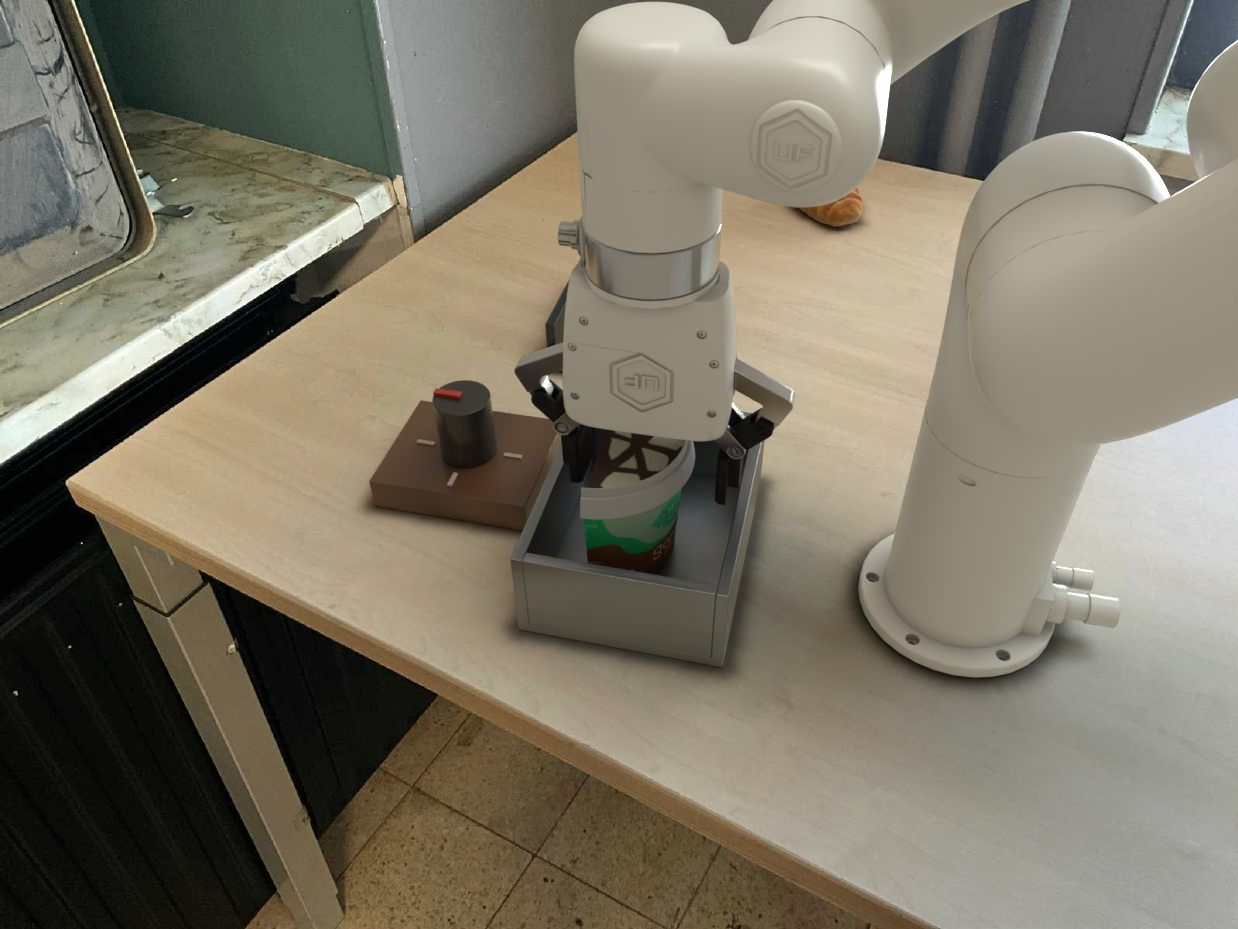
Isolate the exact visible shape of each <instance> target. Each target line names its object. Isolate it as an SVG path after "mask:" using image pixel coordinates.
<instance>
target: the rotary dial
mask: <svg viewBox="0 0 1238 929" xmlns="http://www.w3.org/2000/svg"><path fill="white" fill-rule="evenodd" d="M492 411H493V419H494V427H495V435H496V443H497V450H496V453H495V454H494V456H493V457H492V458H491V459H490V460H489V461H487V462H486V463H484V464H482V465H479V466H475V467H468V468H463V467H456V466H453V465H451V464H449V463H447V462H446V461H445V460H444V459H443V457H442V454H441V449H440V443H439V437H438V431H437V426H436V420H435V414H434V408H433V402H432V401H429V400H423V399H421V400H419V402H418V404H417V405H416V407H415V408H414V410H413V411H412V413H411V414H410V416H409V417H408V420H407V421H406V423H405V424H404V426H403V427H402V429H401V430H400V432H399V434H398V435H397V437H396V438H395V440H394V441H393V443H392V445H391V446H390V447H389V449H388V451H387V453H386V454H385V456H384V457H383V458H382V461H381V462H380V464H379V465H378V467H377V468H376V469H375V471H374V473H373V475H372V476H371V478H369V481H368V483H369V487H370V492H371V495H372V499H373V503H374V506H375V507H381V508H386V509H392V510H399V511H404V512H411V513H416V514H422V515H428V516H433V517H440V518H446V519H452V520H457V521H463V522H470V523H477V524H482V525H487V526H493V527H494V526H495V527H499V528H506V529H510V530H511V529H512V530H517V531H523V529H524V526H525V524H526V522H527V520H528V517H529V515H530V513H531V511H532V508H533V506H534V504H535V502H536V499H537V497H538V495H539V492H540V490H541V488H542V486H543V483H544V481H545V479H546V477H547V474H548V472H549V470H550V468H551V465H552V463H553V461H554V458H555V456H556V454H557V452H558V449H559V447H560V445H561V435H560V434H558V433H556V432H555V431H554V429H553V424H554V423H553V422H552V421H551V420H550V419H549V418H548V417H546V418H545V417H541V416H540V417H539V416H532V415H525V414H519V413H511V412H504V411H499V410H492Z"/></svg>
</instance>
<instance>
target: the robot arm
mask: <svg viewBox="0 0 1238 929" xmlns="http://www.w3.org/2000/svg"><path fill="white" fill-rule="evenodd" d="M1028 1H1030V0H772V1H771V2H770V3H769V4H768V5H767V7H766V8H765V9H764V11H763V12H762V13H761V15H760V16H759V18H758V19H757V21H756V22H755V25H754V27H753V28H752V30H751V33H750V34H749V37H748V39H747V40H745V41H742V42H740V43H735V44H732V43H731V42H730V41H729V38H728V36H727V33H726V31H725V29H724V27H723V26H722V24H721V23H720V21H719V20H717V19H716V18H715V17H714V16H713V15H712V14H711V13H709V12H707V11H706V10H703V9H700V8H697V7H694V6H691V5H687V4H683V3H677V2H676V3H675V2H667V1H640V2H630V3H624V4H621V5H617V6H613V7H610V8H606V9H604V10H602V11H599V12H598V13H596V14H594V15H593V16H592V17H591V18H589V19H588V20H586V22H584V24H583V25H582V26H581V28H580V30H579V32H578V35H577V37H576V40H575V44H574V49H573V72H574V73H573V74H574V91H575V93H574V94H575V112H576V113H575V114H576V129H577V130H576V131H577V133H576V134H577V148H578V149H577V150H578V152H577V153H578V168H579V169H578V170H579V185H580V186H579V187H580V200H581V217H580V219H574V220H573V221H563V220H562V221H560V223H559V224H558V230H557V242H558V245H559V246H562V247H570V248H571V250H577V254H578V256H580V257H579V260H580V259H581V260H580V261H579V260H578V262H577V264H576V265H575V266H574V267H573V269H572V270H571V272H570V275H569V279H570V280H569V279H568V281H569V285H568V291H567V299H566V308H565V321H564V340H563V342H562V343H559V344H556V345H553V346H550V347H547V346H546V347H545V348H542V349H538V350H535V351H533V352H530V353H527V354H524V355H522V356H521V357H520V359H519V360H518V362H517V364H516V366H515V368H514V371H513V372H514V374H515V376H516V378H517V380H518V381H519V382H520V384H521V385H522V387H523V388H524V390H525V391H526V393H529V395H530V396H531V397H530V401H531V404H532V405H533V406H534V407H535V408H536V409H537V410H538V411H540V412H541V414H543V415H544V416H546V418H547V419H550V420H551V421H552V422H553V423H554V424H553V429H554V431H555V432H556V433H558V434H560V435H561V443H562V455H563V462H564V463H568V464H569V466H570V479H571V482H572V483H580V482H582V481H583V479H584V476H585V474H586V471H587V469H588V466H589V464H590V461H591V459H592V455H593V448H592V429H591V427H594V428H600V429H607V430H614V431H621V432H628V433H636V434H643V435H650V436H657V437H665V438H672V439H680V440H688V441H701V442H703V441H712V440H714V441H715V442H716V443H717V445H718V446H719V447H720V450H719V454H718V458H717V467H716V485H715V502H717V504H719V505H726V501H727V497H728V492H729V488H730V487H733V488H739V486H740V482H741V476H742V468H743V457H744V456H745V452H746V451H747V450H749V449H750V448H752V447H754V446H755V445H757V444H759V443H761V442H762V441H764V440H765V441H766V440H768V439H769V438H770V437H771V436H772V435H773V434H774V430H775V429H776V428H777V427H779V426H780V425H781V424H782V423H783V421H784V420H785V419H786V418H787V417H788V415H789V414H790V413H791V412H792V411H793V409H794V403H795V397H796V393H795V390H793V389H792V388H790V387H788V386H787V385H784V384H783V383H781V382H780V381H778V380H776V379H774V378H773V377H770V376H769V375H767V374H766V373H763V372H762V371H760V370H758V369H757V368H754V367H753V366H751V365H749V364H748V363H746V362H744V361H742V360H740V359H739V358H738V332H737V331H738V329H737V313H736V304H735V303H736V302H735V294H734V288H733V283H732V276H731V272H730V270H729V267H728V266H727V264H726V263H725V262H723V261H721V258H720V257H721V240H722V219H723V218H722V214H723V196H724V191H727V192H730V193H733V194H737V195H739V196H743V197H745V198H750V199H752V200H756V201H760V202H764V203H768V204H771V205H772V204H773V205H777V206H780V207H788V208H789V207H790V208H798V207H814V206H821V205H825V204H829V203H832V202H835V201H837V200H839V199H841V198H843V197H845V196H846V195H848V194H849V193H851V192H852V191H854V190H855V189H856V188H858V187H859V186H860V185H861V184H862V183H864V181H865V180H866V179H867V178H868V176H869V174H871V172H872V171H873V169H874V167H875V165H876V163H877V161H878V158H879V155H880V153H881V149H882V148H883V147H882V146H883V143H884V138H885V132H886V124H887V114H888V105H889V97H890V89H891V85H893V84H894V83H895V82H896V81H898V80H900V79H901V78H902V77H903V76H905V75H906V74H908V73H909V72H910V71H912V70H913V69H914V68H915V67H917V66H919V65H920V64H921V63H922V62H924V61H925V60H926V59H928V58H929V57H931V56H932V55H934V54H935V53H937V52H938V51H940V50H941V49H942V48H944V47H946V46H947V45H949V44H950V43H951V42H953V41H954V40H956V39H957V38H959V37H961V35H963V34H965V33H967V32H968V31H970V30H971V29H973V28H975V27H976V26H978V25H979V24H981V23H983V22H985V21H987V20H989V19H990V18H993V17H994V16H996V15H998V14H1000V13H1003V12H1005V11H1007V10H1009V9H1011V8H1014V7H1016V6H1017V5H1020V4H1023V3H1026V2H1028ZM1189 98H1190V99H1189V101H1188V106H1187V111H1186V116H1185V117H1186V118H1185V132H1186V133H1185V134H1186V140H1187V145H1188V146H1187V147H1188V151H1189V155H1190V158H1191V162H1192V164H1193V166H1194V169H1195V173H1196V175H1197V177H1198V179H1199V180H1196V182H1193V183H1192V184H1190V185H1188V186H1187V187H1184V188H1183V189H1181V190H1179V191H1177V192H1176V193H1174V194H1172V195H1170V193H1169V191H1168V189H1167V186H1166V184H1165V182H1164V181H1163V179H1162V178H1161V176H1160V175H1159V173H1158V172H1157V171H1156V170H1155V168H1154V167H1153V166H1152V165H1151V163H1150V162H1149V161H1148V160H1147V159H1146V158H1145V157H1144V156H1143V155H1142V154H1140V153H1139V152H1138V151H1137V150H1135V148H1133V147H1131V146H1129V145H1128V144H1127V143H1125V142H1123V141H1121V140H1118V139H1117V138H1114V137H1111V136H1108V135H1105V134H1101V133H1097V132H1089V131H1067V132H1066V131H1065V132H1057V133H1054V134H1050V135H1046V136H1043V137H1040V138H1038V139H1035V140H1033V141H1030V142H1029V143H1026V144H1025V145H1023V146H1021V147H1019V148H1018V149H1016V150H1015V151H1013V152H1011V153H1010V154H1009V155H1007V156H1006V157H1005V158H1004V159H1002V160H1001V161H1000V162H999V163H998V164H997V166H996V167H995V168H993V169H992V170H991V172H990V173H989V174H988V175H987V176H986V178H984V180H983V182H982V183H981V185H979V188H978V189H977V191H976V193H975V194H974V196H973V198H972V200H971V202H970V204H969V207H968V209H967V211H966V214H965V216H964V220H963V223H962V227H961V230H960V235H959V239H958V244H957V248H956V249H957V250H956V254H955V259H954V266H953V272H952V278H951V284H950V290H949V296H948V301H947V307H946V312H945V318H944V322H943V323H944V324H943V329H942V334H941V338H940V343H939V348H938V351H937V357H936V361H935V365H934V370H933V374H932V378H931V381H930V382H931V383H930V386H929V391H928V395H927V399H926V402H925V406H924V407H925V408H924V411H923V416H922V418H921V423H920V427H919V432H918V436H917V439H916V443H915V449H914V452H913V456H912V460H911V465H910V469H909V473H908V477H907V481H906V485H905V489H904V493H903V497H902V501H901V506H900V510H899V514H898V518H897V521H896V527H895V530H894V533H891V534H890V535H888V536H886V537H884V538H883V539H881V540H879V541H878V542H877V544H876V545H874V546H873V548H871V549H870V551H869V553H868V554H867V556H866V557H865V559H864V561H863V563H862V566H861V570H860V575H859V580H858V586H857V588H858V589H857V590H858V597H859V603H860V606H861V608H862V611H863V614H864V616H865V617H866V619H867V621H868V623H869V624H870V626H871V627H872V629H873V630H874V631H875V632H876V633H877V635H878V636H879V637H880V638H881V639H882V640H883V641H884V642H885V643H886V644H888V645H889V646H890V647H891V648H892V649H894V650H895V651H897V653H898V654H900V655H902V656H904V657H906V658H907V659H909V660H911V661H913V662H914V663H916V664H919V665H920V666H923V667H926V668H928V669H930V670H932V671H936V672H940V673H944V674H947V675H952V676H959V677H965V678H966V677H967V678H992V677H993V678H994V677H999V676H1002V675H1003V676H1004V675H1007V674H1011V673H1014V672H1016V671H1018V670H1021V669H1023V668H1025V667H1027V666H1028V665H1029V664H1031V663H1033V662H1034V661H1035V660H1036V659H1038V658H1039V656H1040V655H1041V654H1042V653H1043V651H1044V650H1045V649H1046V648H1047V647H1048V644H1049V642H1050V640H1051V637H1052V635H1053V633H1054V631H1055V626H1056V624H1062V623H1063V621H1064V619H1067V620H1073V621H1078V622H1082V623H1083V624H1085V625H1091V626H1098V627H1102V628H1103V627H1104V628H1110V629H1115V628H1116V627H1117V625H1118V623H1119V621H1120V616H1121V602H1120V599H1119V598H1118V597H1113V596H1106V595H1101V594H1096V593H1095V594H1094V593H1085V594H1084V593H1078V592H1071V591H1068V588H1069V589H1074V590H1081V591H1086V592H1087V591H1089V592H1091V591H1092V589H1093V585H1094V582H1095V572H1094V570H1091V569H1085V568H1084V569H1083V568H1078V567H1065V566H1060V565H1057V562H1056V560H1054V559H1055V557H1056V554H1057V552H1058V549H1059V547H1060V544H1061V542H1062V539H1063V537H1064V535H1065V532H1066V530H1067V527H1068V525H1069V522H1070V520H1071V518H1072V515H1073V512H1074V510H1075V507H1076V504H1077V502H1078V500H1079V497H1080V495H1081V492H1082V489H1083V487H1084V485H1085V483H1086V480H1087V478H1088V475H1089V473H1090V470H1091V467H1092V465H1093V463H1094V460H1095V457H1096V456H1097V454H1098V452H1099V450H1100V449H1101V445H1104V444H1111V443H1114V442H1119V441H1124V440H1128V439H1132V438H1136V437H1138V436H1143V435H1146V434H1149V433H1151V432H1155V431H1158V430H1160V429H1163V428H1166V427H1168V426H1171V425H1174V424H1176V423H1179V422H1182V421H1183V420H1186V419H1188V418H1192V417H1195V416H1196V415H1199V414H1202V413H1205V412H1207V411H1209V410H1211V409H1214V408H1217V407H1219V406H1221V405H1224V404H1227V403H1229V402H1231V401H1234V400H1236V399H1238V40H1236V41H1234V43H1232V44H1230V45H1229V46H1228V47H1227V48H1225V49H1224V50H1223V51H1222V52H1221V53H1220V54H1218V56H1217V57H1216V58H1214V60H1213V61H1211V63H1210V64H1209V65H1208V67H1207V68H1206V69H1205V71H1204V72H1203V73H1202V75H1201V76H1200V78H1199V79H1198V81H1197V83H1196V84H1195V86H1194V88H1193V90H1192V92H1191V95H1190V97H1189ZM561 370H563V372H562V388H561V387H560V386H559V385H557V383H556V382H555V381H553V380H552V379H550V378H549V376H548V375H551V374H555V373H557V372H558V371H561ZM558 373H559V372H558ZM736 392H738V393H740V394H741V395H743V396H745V397H747V398H749V399H751V400H752V401H753V402H756V403H757V404H759V405H761V406H762V407H761V408H759V409H757V410H755V411H753V412H751V413H752V414H750V415H749V416H747V417H746V416H745V415H744V414H743V413H742V412H743V411H741V409H740V408H739V407H738V406H737V405H736V404H735V403H734V402H733V399H734V396H735V393H736ZM1067 587H1068V588H1067Z"/></svg>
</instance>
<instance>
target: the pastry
mask: <svg viewBox="0 0 1238 929" xmlns="http://www.w3.org/2000/svg"><path fill="white" fill-rule="evenodd" d="M797 208H798V209H800V210H801V211H802V212H803V213H805V214H807V215H808V216H809V218H812V219H813V220H814V221H817V222H818V223H820V224H824V225H829V226H831V227H834V228H836V227H842V226H844V225H851V224H854V223H857V222H858V221H859V219H860V218H861V216H863V214H864V209H863V208H864V207H863V198H862V197H861V193H860V189H859V188H858V187H857V188H856V189H855V190H854V191H852V192H851V193H849V194H848V195H846V196H845V197H843V198H841V199H839V200H837V201H835V202H832V203H829V204H825V205H821V206H814V207H797Z"/></svg>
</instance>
